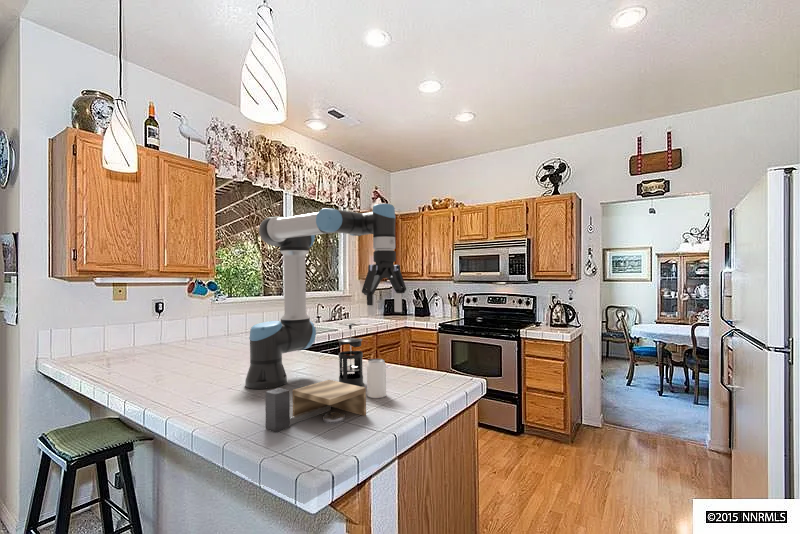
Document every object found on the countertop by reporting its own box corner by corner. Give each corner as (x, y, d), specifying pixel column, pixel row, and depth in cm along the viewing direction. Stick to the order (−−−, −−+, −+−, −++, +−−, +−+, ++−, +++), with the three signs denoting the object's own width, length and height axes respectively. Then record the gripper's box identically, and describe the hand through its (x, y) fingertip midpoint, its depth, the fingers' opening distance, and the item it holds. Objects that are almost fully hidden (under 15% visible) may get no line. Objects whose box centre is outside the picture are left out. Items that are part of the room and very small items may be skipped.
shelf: (292, 417, 117) (292, 389, 117) (329, 404, 128) (328, 379, 128) (330, 429, 107) (329, 399, 108) (366, 415, 118) (365, 387, 118)
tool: (265, 428, 109) (265, 391, 109) (324, 408, 125) (323, 376, 125) (275, 432, 106) (275, 394, 106) (333, 411, 122) (333, 378, 122)
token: (319, 421, 115) (318, 416, 115) (334, 415, 119) (334, 410, 119) (333, 426, 111) (333, 421, 111) (349, 419, 116) (349, 414, 116)
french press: (355, 390, 144) (354, 325, 145) (332, 387, 148) (331, 324, 148) (370, 382, 155) (369, 322, 156) (348, 379, 159) (347, 321, 159)
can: (383, 399, 133) (383, 362, 134) (364, 398, 135) (364, 362, 135) (388, 393, 140) (387, 358, 140) (370, 392, 141) (369, 358, 141)
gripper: (367, 248, 124) (368, 317, 123) (415, 251, 143) (416, 311, 143) (350, 249, 128) (351, 316, 128) (398, 252, 148) (399, 310, 147)
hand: (385, 313), depth 135 cm, fingers open, 13 cm apart
